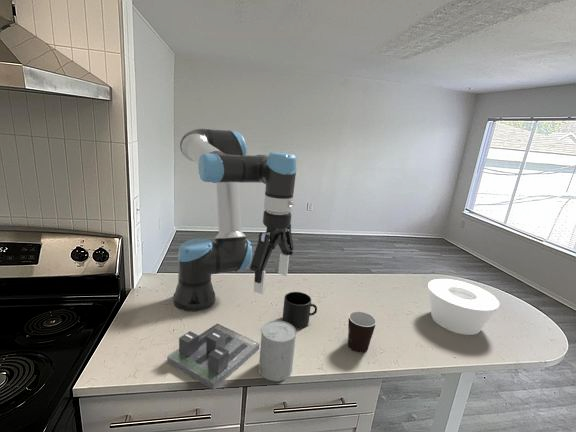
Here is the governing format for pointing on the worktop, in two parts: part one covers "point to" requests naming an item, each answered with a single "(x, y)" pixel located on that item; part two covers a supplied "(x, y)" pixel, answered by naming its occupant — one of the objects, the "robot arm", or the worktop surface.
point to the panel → (198, 361)
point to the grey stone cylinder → (277, 350)
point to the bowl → (460, 305)
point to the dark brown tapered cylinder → (360, 331)
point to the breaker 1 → (188, 343)
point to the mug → (297, 309)
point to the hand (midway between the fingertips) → (271, 283)
